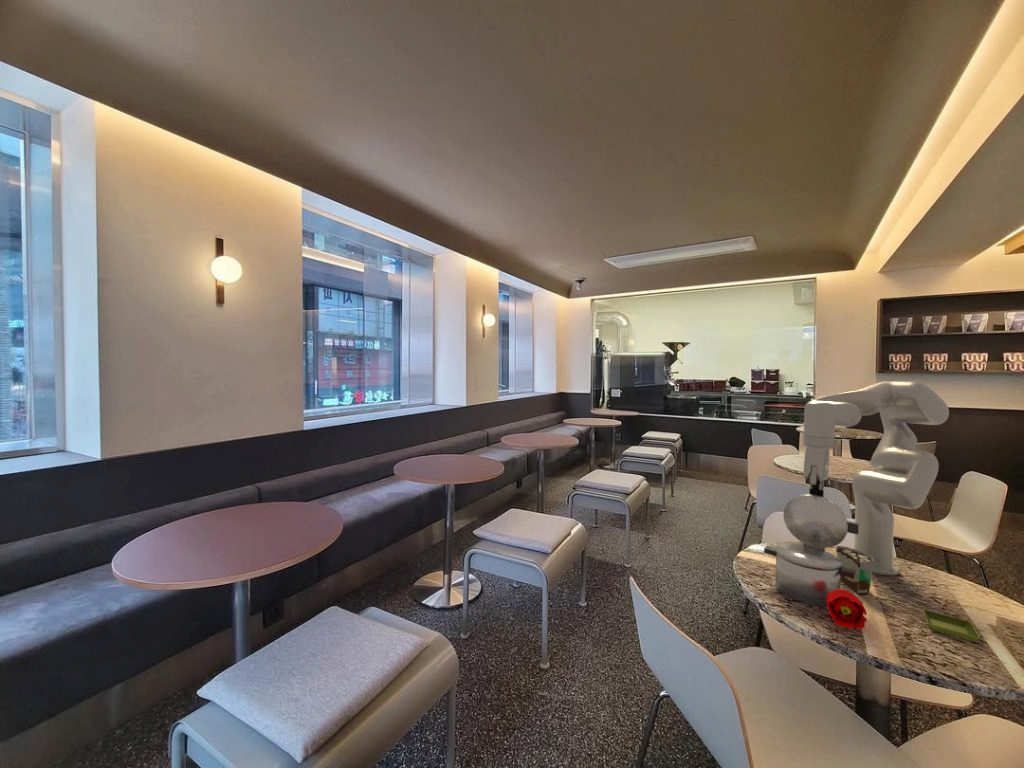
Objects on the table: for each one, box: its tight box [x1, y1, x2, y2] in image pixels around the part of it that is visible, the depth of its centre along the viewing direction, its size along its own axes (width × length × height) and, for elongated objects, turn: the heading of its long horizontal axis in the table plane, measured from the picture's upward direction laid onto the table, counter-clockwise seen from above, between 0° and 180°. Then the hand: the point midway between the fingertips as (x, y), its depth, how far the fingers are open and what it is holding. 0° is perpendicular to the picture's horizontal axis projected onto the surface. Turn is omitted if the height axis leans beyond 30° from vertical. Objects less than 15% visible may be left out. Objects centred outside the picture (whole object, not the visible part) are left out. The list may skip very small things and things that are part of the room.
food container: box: [835, 545, 876, 596], centre depth 119 cm, size 12×6×10 cm, turn 168°
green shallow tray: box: [922, 609, 981, 642], centre depth 99 cm, size 9×9×2 cm
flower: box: [826, 588, 868, 630], centre depth 102 cm, size 8×8×8 cm
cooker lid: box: [783, 494, 859, 551], centre depth 121 cm, size 16×18×3 cm
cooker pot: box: [763, 543, 856, 608], centre depth 116 cm, size 15×21×11 cm
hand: (816, 501), depth 123 cm, fingers closed
